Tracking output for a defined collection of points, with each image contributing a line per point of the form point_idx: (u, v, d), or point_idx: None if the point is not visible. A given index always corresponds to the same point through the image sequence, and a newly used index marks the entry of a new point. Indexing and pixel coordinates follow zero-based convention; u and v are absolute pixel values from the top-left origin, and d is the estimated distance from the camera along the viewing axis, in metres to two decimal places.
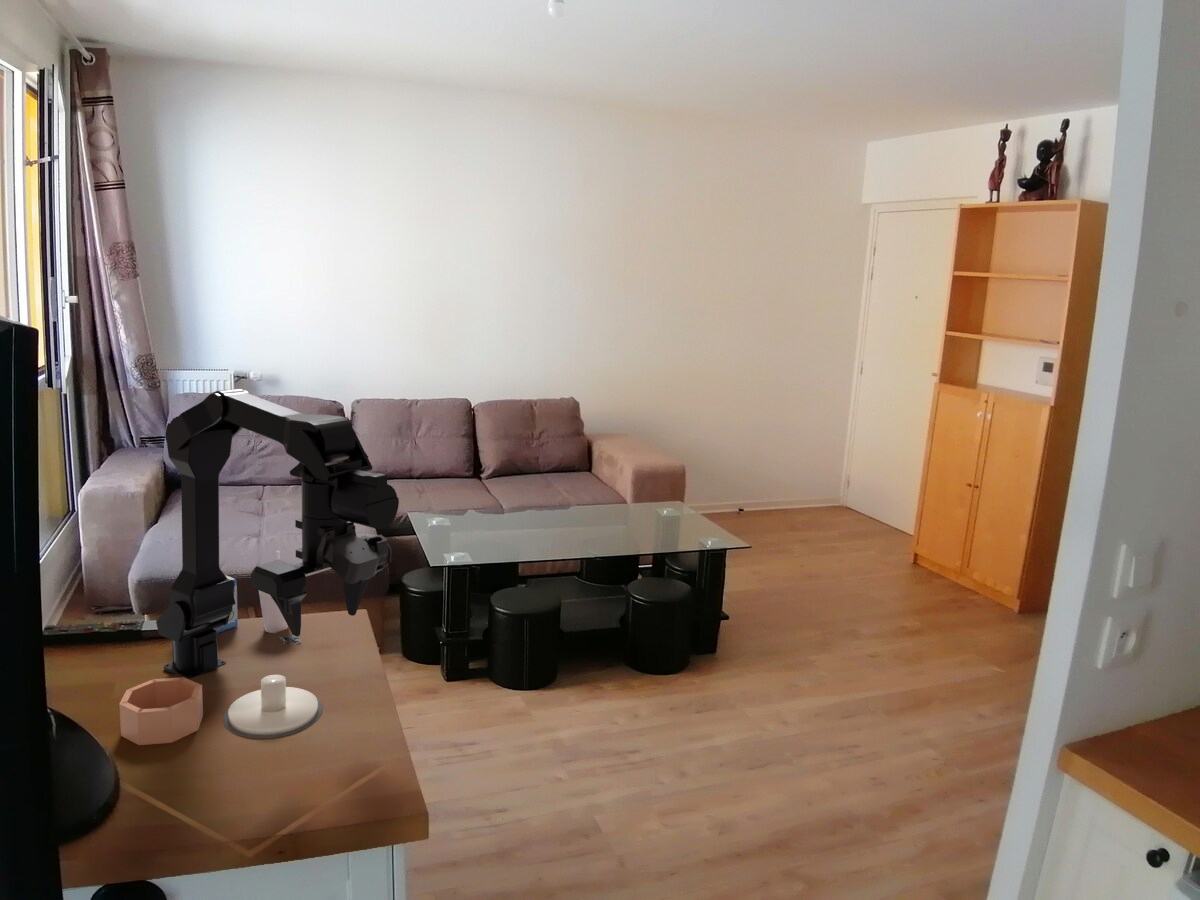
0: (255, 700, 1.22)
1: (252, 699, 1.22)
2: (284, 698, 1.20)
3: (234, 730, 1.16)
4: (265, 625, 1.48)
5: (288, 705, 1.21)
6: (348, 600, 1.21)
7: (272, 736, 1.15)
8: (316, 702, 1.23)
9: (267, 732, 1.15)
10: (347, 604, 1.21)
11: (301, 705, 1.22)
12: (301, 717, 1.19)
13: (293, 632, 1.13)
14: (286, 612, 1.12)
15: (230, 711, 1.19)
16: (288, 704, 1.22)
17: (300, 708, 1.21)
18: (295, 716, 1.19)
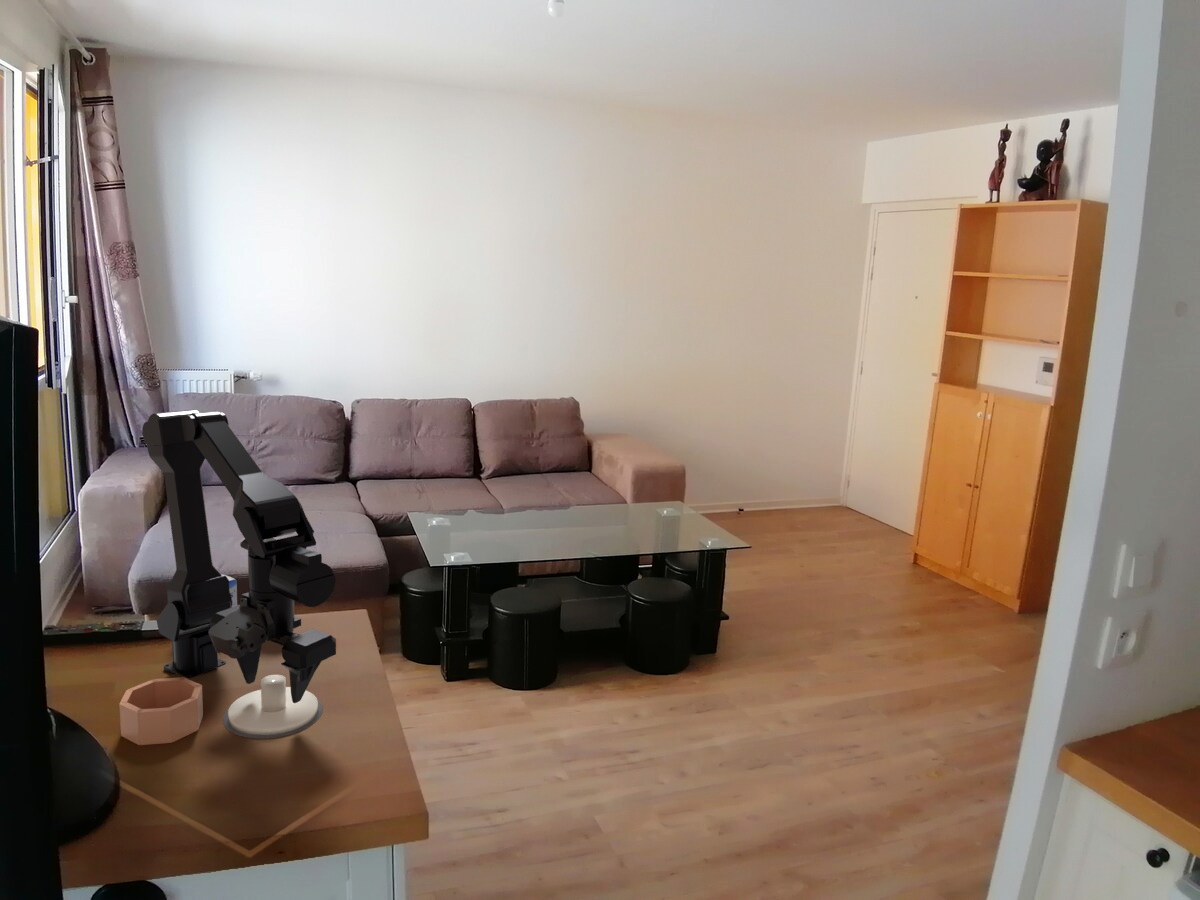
0: (255, 700, 1.22)
1: (252, 699, 1.22)
2: (284, 698, 1.20)
3: (234, 730, 1.16)
4: None
5: (288, 705, 1.21)
6: None
7: (272, 736, 1.15)
8: (316, 702, 1.23)
9: (267, 732, 1.15)
10: None
11: (301, 705, 1.22)
12: (301, 717, 1.19)
13: None
14: None
15: (230, 711, 1.19)
16: (288, 704, 1.22)
17: (300, 708, 1.21)
18: (295, 716, 1.19)
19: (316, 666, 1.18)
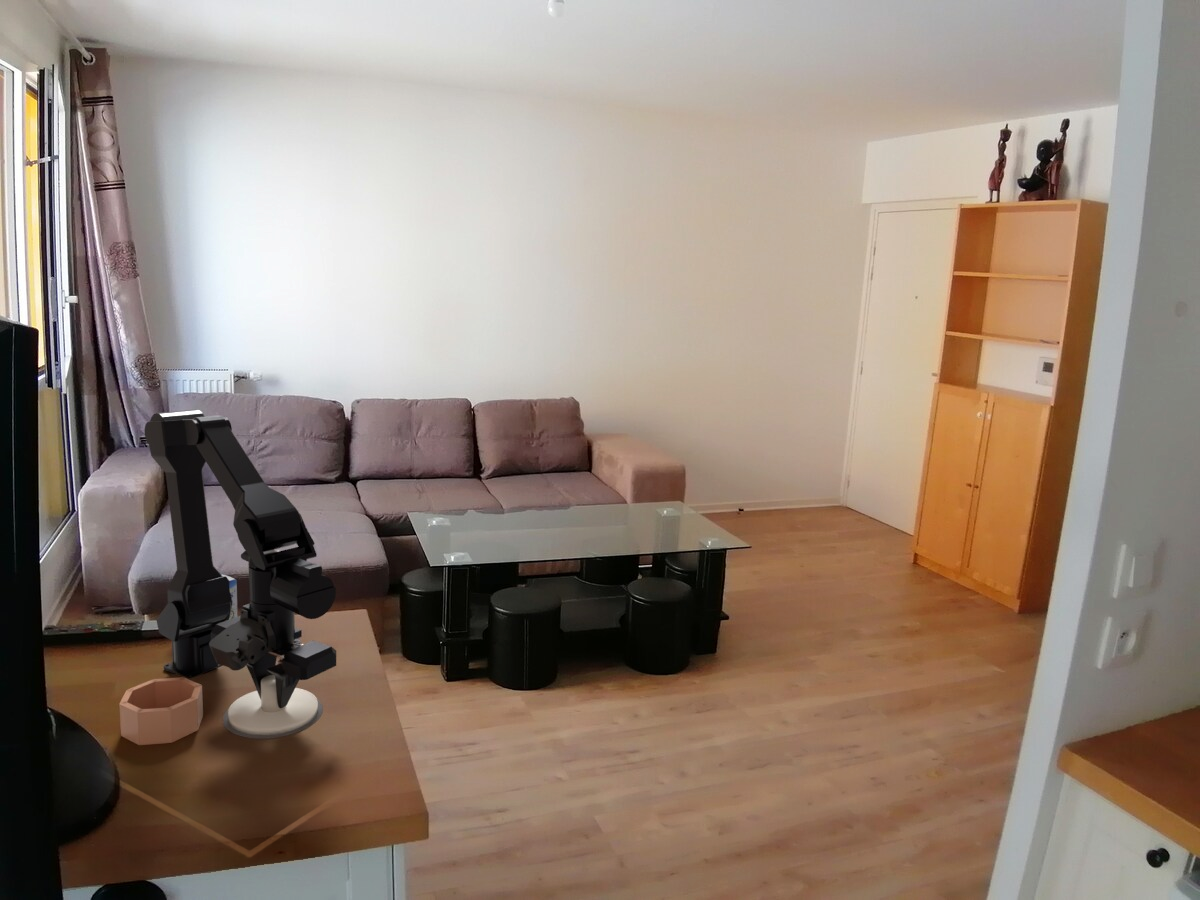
0: (255, 700, 1.22)
1: (252, 699, 1.22)
2: None
3: (234, 730, 1.16)
4: None
5: (288, 705, 1.21)
6: None
7: (272, 736, 1.15)
8: (316, 702, 1.23)
9: (267, 732, 1.15)
10: None
11: (301, 705, 1.22)
12: (301, 717, 1.19)
13: None
14: None
15: (230, 711, 1.19)
16: (288, 704, 1.22)
17: (300, 708, 1.21)
18: (295, 716, 1.19)
19: None
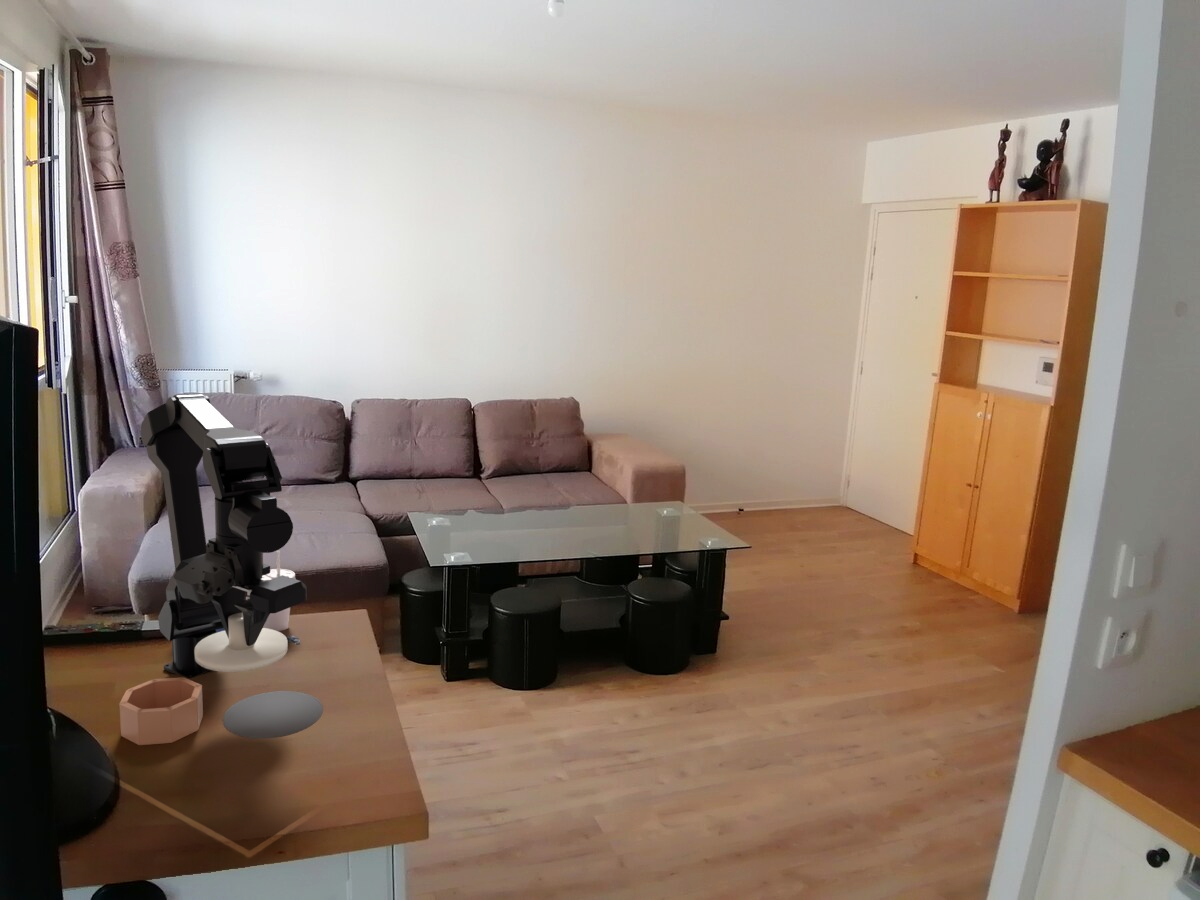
0: (223, 639, 1.19)
1: (219, 638, 1.19)
2: None
3: (234, 730, 1.16)
4: (265, 625, 1.48)
5: (257, 644, 1.18)
6: None
7: (272, 736, 1.15)
8: (286, 641, 1.20)
9: (235, 668, 1.12)
10: None
11: (270, 644, 1.18)
12: (270, 654, 1.16)
13: None
14: None
15: (196, 649, 1.16)
16: (256, 642, 1.19)
17: (269, 646, 1.18)
18: (264, 653, 1.16)
19: None
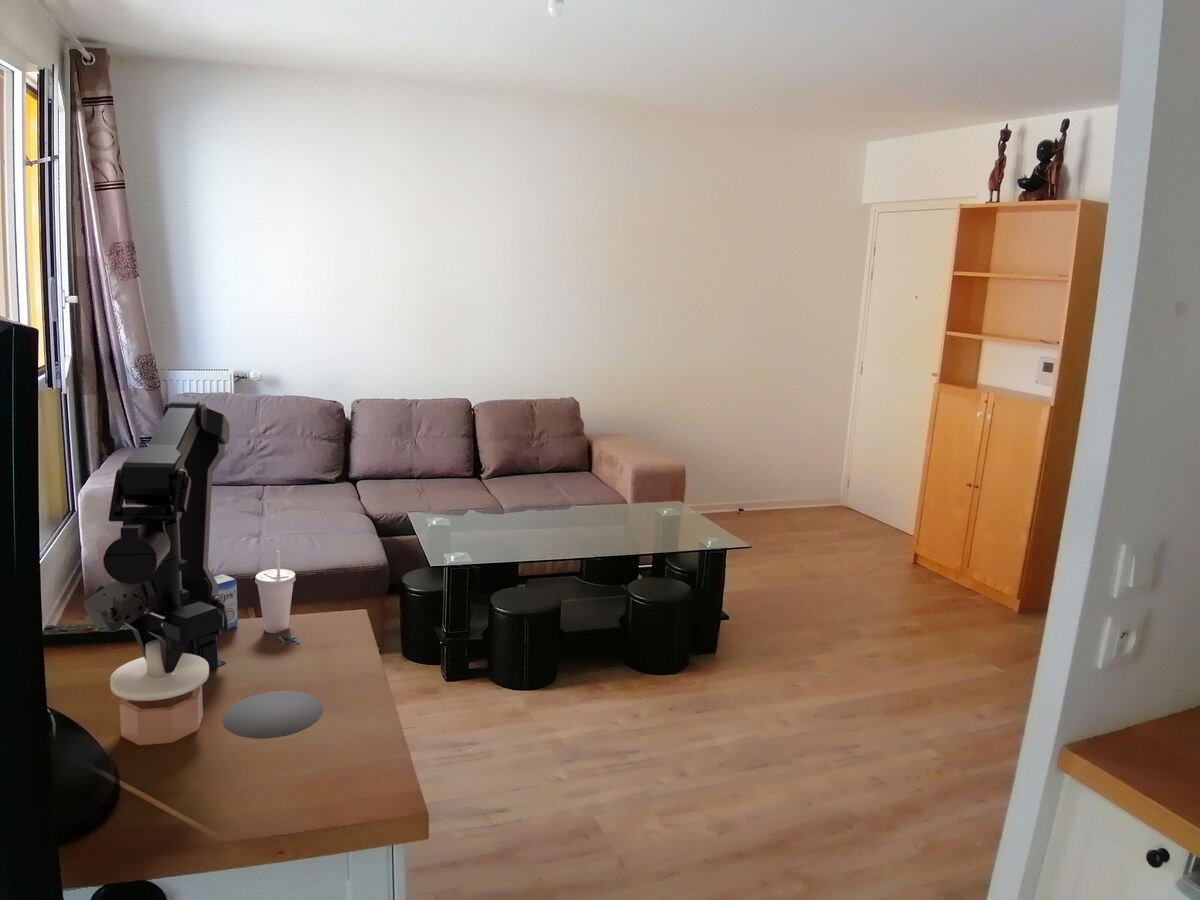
0: (142, 665, 1.16)
1: (139, 664, 1.16)
2: None
3: (234, 730, 1.16)
4: (265, 625, 1.48)
5: (176, 671, 1.15)
6: None
7: (272, 736, 1.15)
8: (207, 668, 1.17)
9: (148, 697, 1.09)
10: None
11: (190, 671, 1.16)
12: (187, 682, 1.13)
13: None
14: None
15: (113, 676, 1.13)
16: (176, 669, 1.16)
17: (188, 673, 1.15)
18: (181, 681, 1.13)
19: None
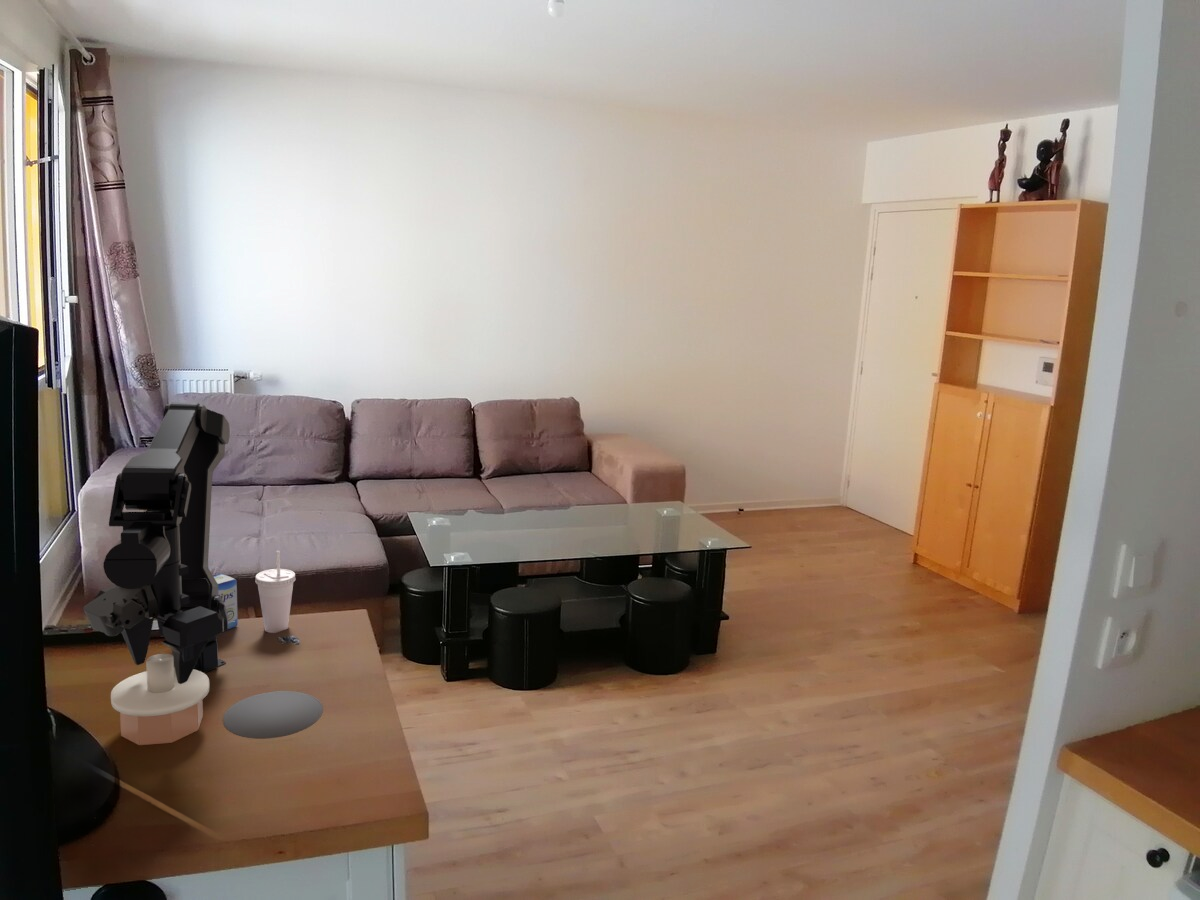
0: (143, 680, 1.17)
1: (140, 679, 1.17)
2: (171, 678, 1.15)
3: (234, 730, 1.16)
4: (265, 625, 1.48)
5: (177, 686, 1.16)
6: None
7: (272, 736, 1.15)
8: (207, 683, 1.17)
9: (148, 713, 1.10)
10: None
11: (190, 686, 1.16)
12: (187, 698, 1.13)
13: None
14: None
15: (113, 691, 1.13)
16: (176, 684, 1.16)
17: (188, 688, 1.15)
18: (181, 697, 1.13)
19: (203, 645, 1.13)
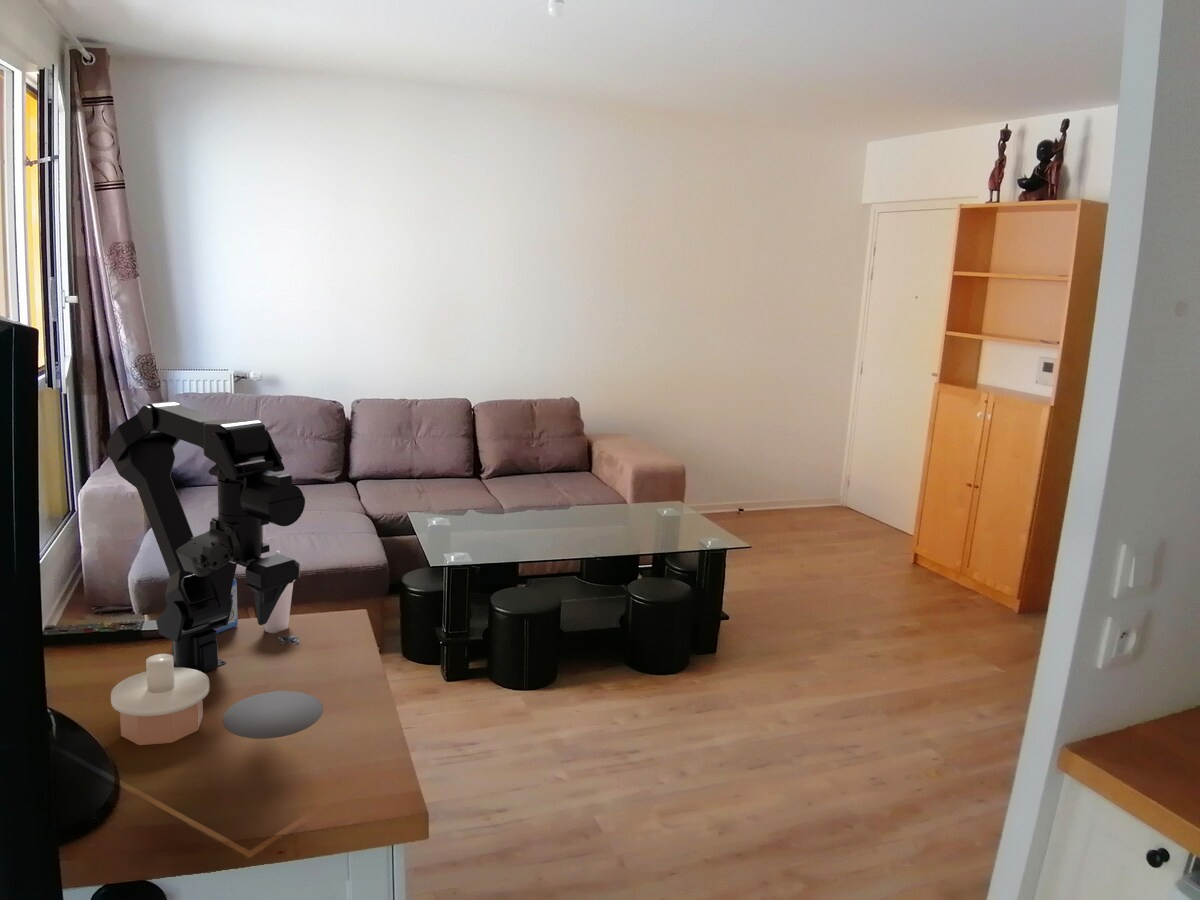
0: (143, 680, 1.17)
1: (140, 679, 1.17)
2: (171, 678, 1.15)
3: (234, 730, 1.16)
4: (265, 625, 1.48)
5: (177, 686, 1.16)
6: None
7: (272, 736, 1.15)
8: (207, 683, 1.17)
9: (148, 713, 1.10)
10: None
11: (190, 686, 1.16)
12: (187, 698, 1.13)
13: None
14: None
15: (113, 691, 1.13)
16: (176, 684, 1.16)
17: (188, 688, 1.15)
18: (181, 697, 1.13)
19: (281, 590, 1.22)
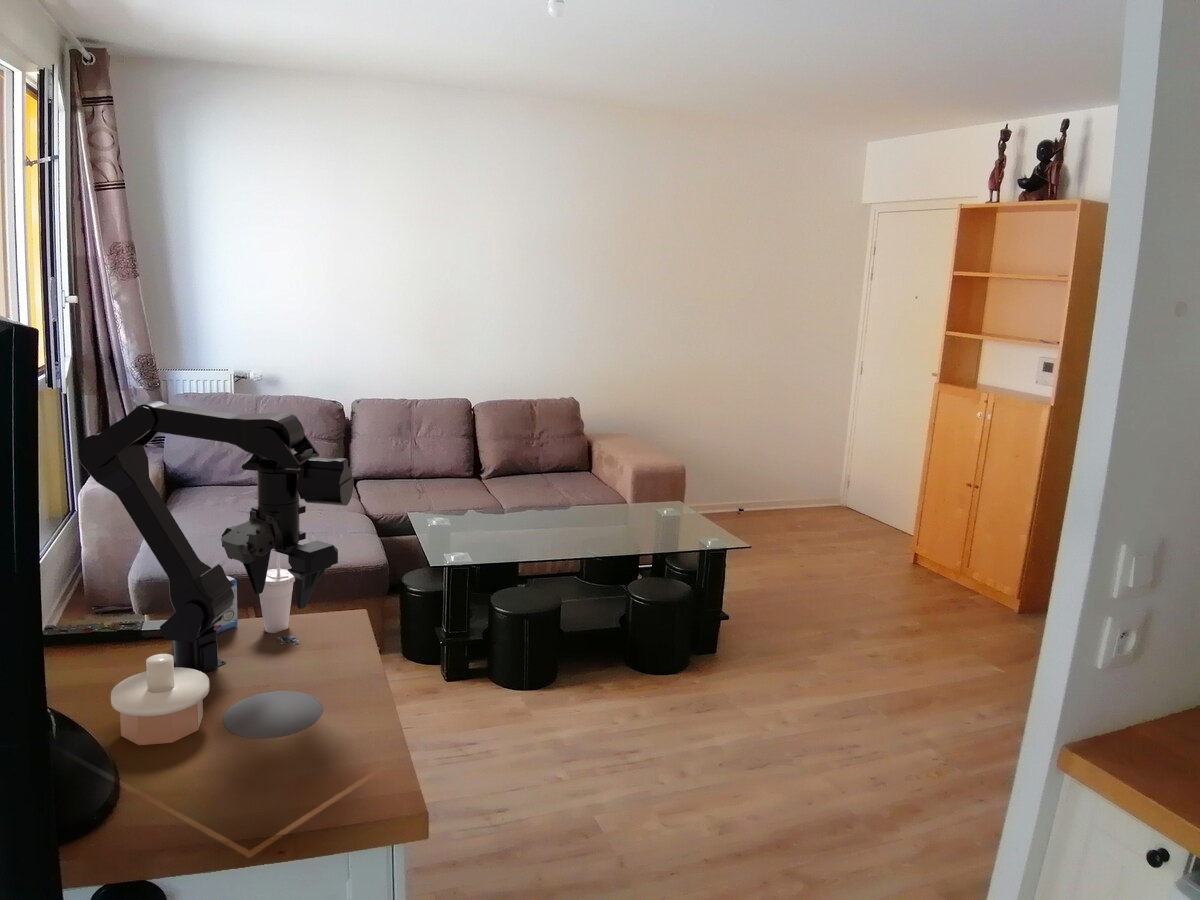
0: (143, 680, 1.17)
1: (140, 679, 1.17)
2: (171, 678, 1.15)
3: (234, 730, 1.16)
4: (265, 625, 1.48)
5: (177, 686, 1.16)
6: None
7: (272, 736, 1.15)
8: (207, 683, 1.17)
9: (148, 713, 1.10)
10: None
11: (190, 686, 1.16)
12: (187, 698, 1.13)
13: None
14: None
15: (113, 691, 1.13)
16: (176, 684, 1.16)
17: (188, 688, 1.15)
18: (181, 697, 1.13)
19: (319, 575, 1.28)
